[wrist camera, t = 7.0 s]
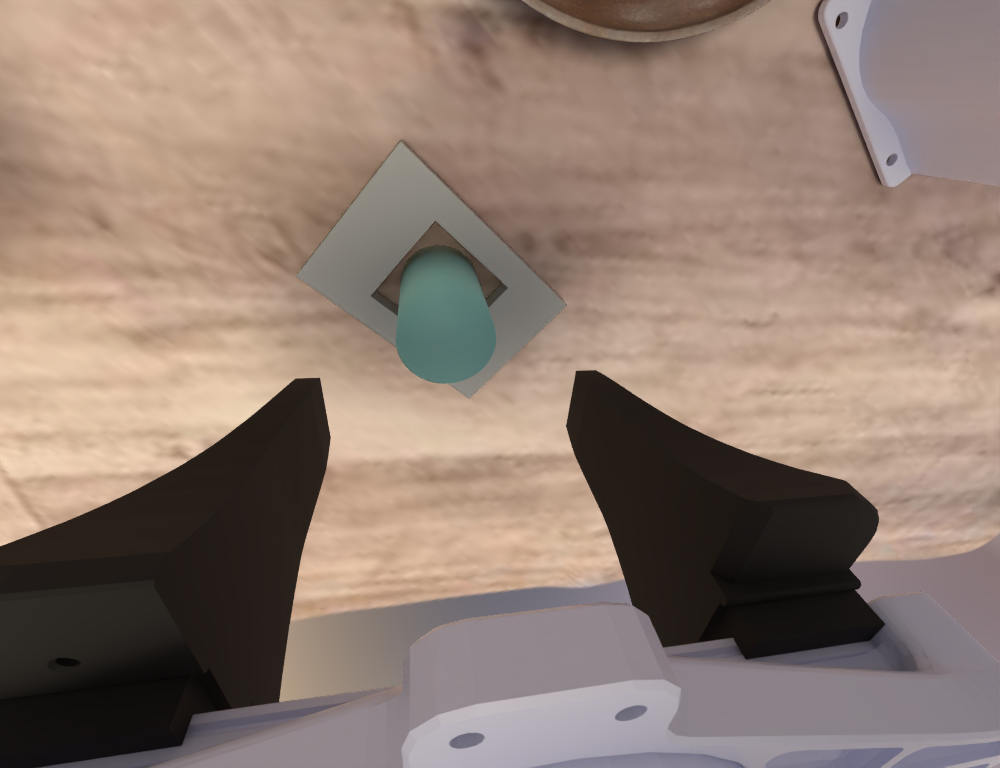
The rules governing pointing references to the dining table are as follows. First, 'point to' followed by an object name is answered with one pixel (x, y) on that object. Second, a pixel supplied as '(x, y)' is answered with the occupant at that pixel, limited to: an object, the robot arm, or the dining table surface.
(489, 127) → the dining table surface
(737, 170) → the dining table surface
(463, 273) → the dowel
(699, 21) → the plant saucer
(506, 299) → the socket block
